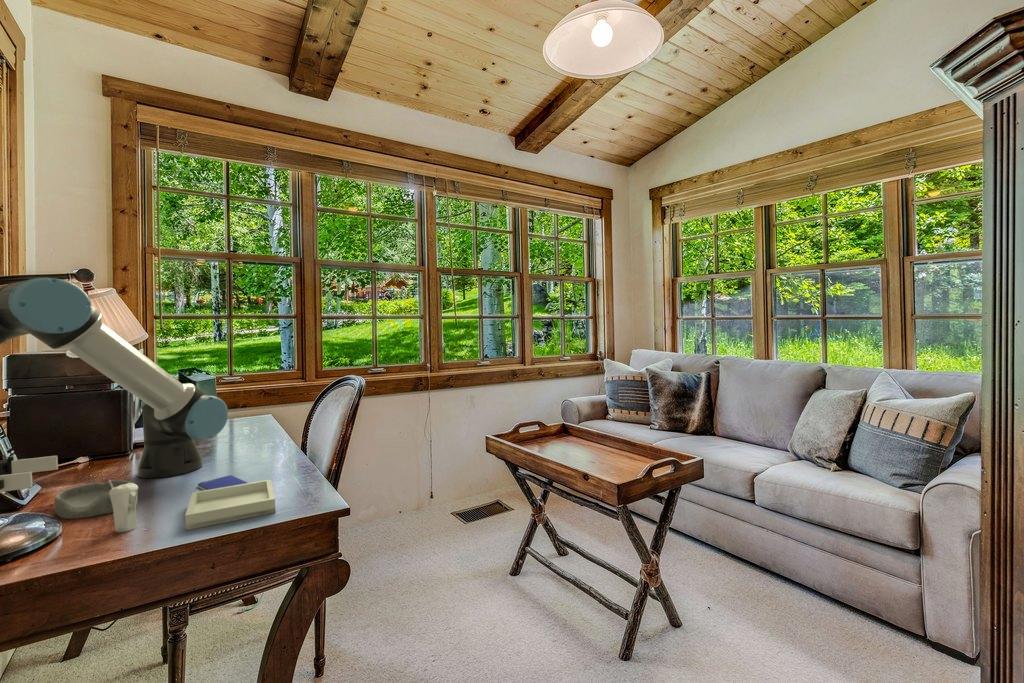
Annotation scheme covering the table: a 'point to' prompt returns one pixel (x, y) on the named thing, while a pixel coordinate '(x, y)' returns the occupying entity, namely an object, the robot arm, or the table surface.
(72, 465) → the table surface
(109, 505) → the dish
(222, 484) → the hard drive
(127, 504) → the milkshake
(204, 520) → the tray
